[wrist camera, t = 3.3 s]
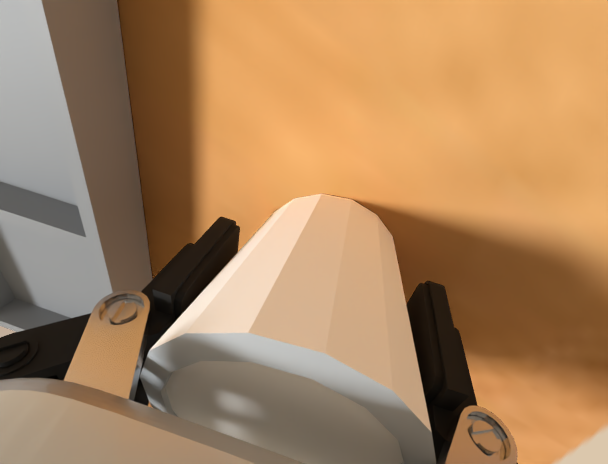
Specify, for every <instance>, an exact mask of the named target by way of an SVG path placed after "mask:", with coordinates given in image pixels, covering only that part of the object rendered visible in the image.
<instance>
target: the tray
mask: <svg viewBox="0 0 608 464" xmlns="http://www.w3.org/2000/svg"><path fill="white" fill-rule="evenodd" d="M151 281H152V272H151V264H150V256H149V248H148V240H147V232H146V224H145V217H144V209H143V201H142V193H141V185H140V177H139V169H138V161H137V154H136V146H135V138H134V130H133V122H132V114H131V106H130V98H129V91H128V83H127V75H126V67H125V59H124V51H123V43H122V35H121V28H120V20H119V12H118V4H117V0H0V326H2V327H5V328H7V329H11V330H13V331H16V332H19V331H23V330H27V329H31V328H35V327H39V326H43V325H47V324H51V323H54V322H58V321H62V320H66V319H70V318H74V317H78V316H82V315H86V314H90V313H92V311H93V309H94V307H95V306H96V304H97V303H98V302H99V301H100V300H101V299H102V298H104V297H105V296H107V295H109V294H111V293H114V292H117V291H121V290H136V291H139V292H141V291H142V290H143V289H144V288H145V287H146V286H147V285H148V284H149V283H150V282H151Z"/></svg>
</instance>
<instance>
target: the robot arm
mask: <svg viewBox="0 0 608 464" xmlns="http://www.w3.org/2000/svg"><path fill="white" fill-rule="evenodd" d="M239 232H240V227H239V226H237V225H236V222H235V221H234V220H230V219H227V218H224V217H220V218H218V220H217V221H216V222H215V223H214V224H213V225H212V226H211V227H210V228H209V229H208V230H207V231H206V232H205V233H204V235H203V236H202V237H201V238H200V239H199V240H198V241H197V242H196V243H195V244H192V243H189V244H187V245H186V246H185V247H184V248H183V249H182V250H181V251H180V252H179V253H178V254H177V255H176V256H175V257H174V258H173V259H172V260H171V261H170V262H169V263H168V264H167V265H166V266H165V267H164V268H163V269H162V270H161V271H160V272H159V274H158V275H157V276H156V277H155V278H154V279H153V280H152V281H151V282H150V283H149V284H148V285H147V286H146V287H145V288H144V289H143V290H142V291H141V292H139V291H136V290H121V291H117V292H114V293H111V294H109V295H107V296H105V297H104V298H102V299H101V300H100V301H99V302H98V303H97V304H96V306H95V307H94V309H93V311H92V313H90V314H86V315H82V316H78V317H74V318H70V319H66V320H62V321H58V322H54V323H51V324H47V325H43V326H39V327H35V328H31V329H27V330H23V331H19V332H15V333H12V334H9V335H6V336H4V337H1V338H0V464H305V463H302V462H300V461H297V460H294V459H291V458H289V457H286V456H283V455H281V454H278V453H275V452H272V451H270V450H267V449H264V448H262V447H259V446H256V445H253V444H251V443H248V442H245V441H243V440H240V439H237V438H234V437H232V436H229V435H226V434H223V433H221V432H218V431H215V430H212V429H210V428H207V427H204V426H201V425H199V424H196V423H193V422H190V421H188V420H185V419H182V418H179V417H177V416H174V415H171V414H168V413H166V412H163V411H160V410H157V409H154V408H152V407H151V405H150V402H149V400H148V397H147V394H146V392H145V389H144V387H143V384H142V381H141V379H140V374H141V372H142V369H143V366H144V363H145V361H146V358H147V355H148V352H149V350H150V349H151V348H152V347H153V346H154V345H155V344H156V342H157V341H158V340H159V339H160V338H161V337H162V336H163V335H164V334H165V332H166V331H167V330H168V329H169V328H170V327H171V326H172V325H173V324H174V323H175V321H176V320H177V319H178V318H179V317H180V316H181V315H182V314H183V313H184V311H185V310H186V309H187V308H188V307H189V306H190V305H191V304H192V303H193V301H194V300H195V299H196V298H197V297H198V296H199V295H200V294H201V293H202V291H203V290H204V289H205V288H206V287H207V286H208V285H209V284H210V283H211V281H212V280H213V279H214V278H215V277H216V276H217V275H218V274H219V273H220V272H221V270H222V269H223V268H224V267H225V266H226V265H227V264H228V263H229V262H230V260H231V259H232V258H233V257H234V256H235V255H236V254H237V253H238V242H239ZM406 306H407V311H408V316H409V321H410V326H411V331H412V336H413V341H414V346H415V351H416V356H417V361H418V366H419V371H420V376H421V381H422V386H423V391H424V396H425V401H426V407H427V412H428V417H429V422H430V427H431V432H432V438H433V444H434V451H435V457H436V464H518V463H517V447H516V444H515V441H514V438H513V437H512V435H511V433H510V431H509V430H508V428H507V427H506V426H505V425H504V423H503V422H502V421H501V420H500V419H499V418H498V417H497V416H496V415H494V414H493V413H492V412H490V411H488V410H487V409H485V408H482V407H479V406H477V402H476V398H475V394H474V390H473V386H472V381H471V377H470V373H469V369H468V365H467V361H466V357H465V353H464V349H463V345H462V341H461V336H460V333H459V331H458V330H457V329H456V328H454V325H453V321H452V317H451V312H450V308H449V304H448V299H447V295H446V291H445V287H444V286H443V285H440V284H436V283H433V282H430V281H426V282H425V283H424V284H423V283H420V284H419V285H418V286H417V288H416V290H415V291H414V293H413V295H412V296H411V298H410V300H409V301H408V303H407V305H406Z"/></svg>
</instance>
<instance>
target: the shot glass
mask: <svg viewBox="0 0 608 464" xmlns="http://www.w3.org/2000/svg"><path fill="white" fill-rule="evenodd" d="M140 379H141V381H142V384H143V387H144V389H145V392H146V394H147V397H148V400H149V402H150V405H151V406H152V407H153V408H154V409H157V410H160V411H163V412H166V413H168V414H171V415H174V416H177V417H179V418H182V419H185V420H188V421H190V422H193V423H196V424H199V425H201V426H204V427H207V428H210V429H212V430H215V431H218V432H221V433H223V434H226V435H229V436H232V437H234V438H237V439H240V440H243V441H245V442H248V443H251V444H253V445H256V446H259V447H262V448H264V449H267V450H270V451H272V452H275V453H278V454H281V455H283V456H286V457H289V458H291V459H294V460H297V461H300V462H302V463H305V464H436V457H435V451H434V444H433V438H432V432H431V427H430V422H429V417H428V412H427V407H426V401H425V396H424V391H423V386H422V381H421V376H420V371H419V366H418V361H417V356H416V351H415V346H414V341H413V336H412V331H411V326H410V321H409V316H408V311H407V306H406V301H405V296H404V291H403V286H402V281H401V275H400V270H399V265H398V260H397V255H396V250H395V245H394V240H393V236H392V235H391V233H390V232H389V231H388V229H387V228H386V227H385V225H384V224H383V222H382V221H381V220H380V218H379V217H378V216H377V215H376V214H375V213H373V212H372V211H370V210H368V209H367V208H365V207H363V206H362V205H360V204H358V203H357V202H355V201H354V200H352V199H347V198H342V197H337V196H332V195H327V194H317V195H311V196H305V197H300V198H294V199H293V200H291V201H290V202H288V203H287V204H285V205H284V206H282V207H281V208H279V209H278V210H276V211H275V212H274V213H273V214H272V215H271V216H270V217H269V218H268V219H267V220H266V222H265V223H264V224H263V225H262V226H261V227H260V228H259V229H258V230H257V232H256V233H255V234H254V235H253V236H252V237H251V238H250V239H249V240H248V242H247V243H246V244H245V245H244V246H243V247H242V248H241V249H240V250H239V252H238V253H237V254H236V255H235V256H234V257H233V258H232V259H231V260H230V262H229V263H228V264H227V265H226V266H225V267H224V268H223V269H222V270H221V272H220V273H219V274H218V275H217V276H216V277H215V278H214V279H213V280H212V281H211V283H210V284H209V285H208V286H207V287H206V288H205V289H204V290H203V291H202V293H201V294H200V295H199V296H198V297H197V298H196V299H195V300H194V301H193V303H192V304H191V305H190V306H189V307H188V308H187V309H186V310H185V311H184V313H183V314H182V315H181V316H180V317H179V318H178V319H177V320H176V321H175V323H174V324H173V325H172V326H171V327H170V328H169V329H168V330H167V331H166V332H165V334H164V335H163V336H162V337H161V338H160V339H159V340H158V341H157V342H156V344H155V345H154V346H153V347H152V348H151V349H150V350H149V352H148V355H147V358H146V361H145V363H144V366H143V369H142V372H141V374H140Z"/></svg>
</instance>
